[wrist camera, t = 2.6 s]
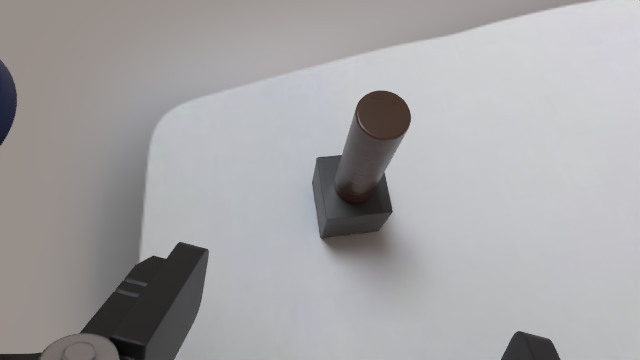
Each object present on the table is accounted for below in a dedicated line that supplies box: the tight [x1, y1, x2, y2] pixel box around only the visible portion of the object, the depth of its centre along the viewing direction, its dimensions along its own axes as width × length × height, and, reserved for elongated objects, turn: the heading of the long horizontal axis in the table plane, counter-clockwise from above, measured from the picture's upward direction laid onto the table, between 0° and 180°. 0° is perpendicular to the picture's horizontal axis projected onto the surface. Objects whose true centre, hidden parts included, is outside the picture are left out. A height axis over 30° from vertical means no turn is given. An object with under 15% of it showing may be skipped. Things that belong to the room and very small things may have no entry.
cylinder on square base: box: [312, 91, 411, 238], centre depth 25 cm, size 4×4×12 cm
